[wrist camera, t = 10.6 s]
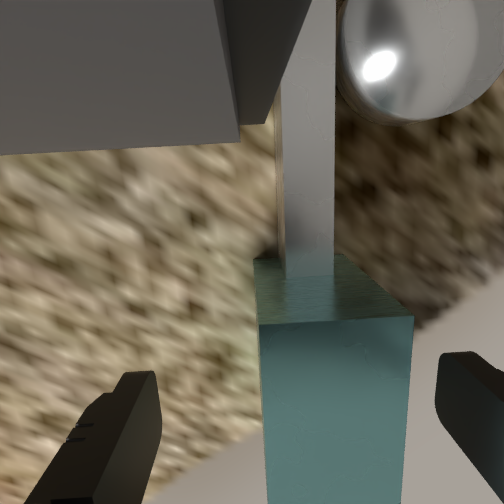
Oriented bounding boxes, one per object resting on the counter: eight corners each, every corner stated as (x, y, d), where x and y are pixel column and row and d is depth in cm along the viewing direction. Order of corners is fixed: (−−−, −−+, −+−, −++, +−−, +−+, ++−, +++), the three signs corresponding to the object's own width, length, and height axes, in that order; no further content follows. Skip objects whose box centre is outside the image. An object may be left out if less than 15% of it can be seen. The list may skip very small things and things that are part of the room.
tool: (236, -49, 10) (225, -293, 5) (347, -55, 10) (460, -305, 5) (260, 392, 14) (269, 529, 9) (340, 387, 14) (399, 520, 9)
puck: (326, -31, 10) (345, -77, 9) (480, -44, 10) (533, -93, 9) (329, 132, 12) (346, 124, 10) (467, 121, 12) (511, 111, 10)
